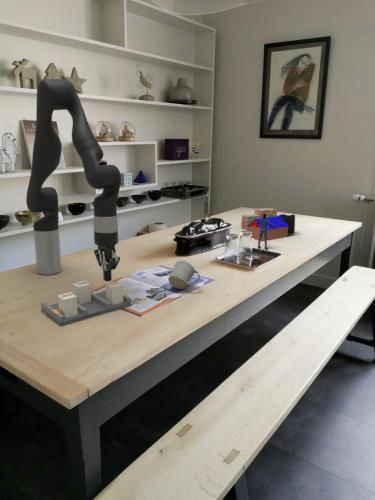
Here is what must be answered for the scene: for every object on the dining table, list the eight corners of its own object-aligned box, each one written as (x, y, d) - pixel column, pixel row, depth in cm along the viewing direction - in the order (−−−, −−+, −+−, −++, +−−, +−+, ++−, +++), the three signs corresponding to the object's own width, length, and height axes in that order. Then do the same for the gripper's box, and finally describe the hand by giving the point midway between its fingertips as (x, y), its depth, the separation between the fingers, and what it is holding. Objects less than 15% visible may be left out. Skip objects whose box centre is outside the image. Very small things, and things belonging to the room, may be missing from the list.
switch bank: (41, 310, 130) (40, 301, 129) (108, 293, 145) (108, 285, 144) (60, 326, 120) (60, 316, 119) (131, 305, 135) (130, 297, 134)
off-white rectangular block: (73, 301, 135) (72, 281, 133) (85, 298, 137) (84, 278, 135) (79, 305, 132) (78, 284, 130) (91, 301, 134) (90, 282, 132)
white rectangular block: (106, 301, 135) (105, 281, 133) (116, 298, 137) (116, 279, 135) (112, 305, 132) (111, 285, 130) (123, 302, 134) (122, 282, 133)
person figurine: (275, 250, 203) (278, 214, 199) (271, 252, 200) (273, 215, 195) (255, 246, 210) (257, 211, 205) (251, 248, 206) (253, 212, 201)
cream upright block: (59, 314, 125) (57, 293, 123) (71, 310, 127) (70, 290, 125) (65, 318, 122) (63, 297, 120) (77, 315, 124) (76, 293, 122)
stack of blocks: (246, 232, 241) (247, 211, 238) (240, 230, 247) (241, 209, 243) (276, 229, 251) (277, 209, 248) (269, 227, 256) (271, 207, 253)
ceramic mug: (175, 291, 152) (162, 277, 149) (184, 275, 157) (172, 261, 154) (196, 288, 145) (183, 273, 141) (205, 271, 150) (193, 256, 146)
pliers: (210, 231, 244) (212, 197, 239) (211, 231, 243) (213, 197, 239) (201, 233, 236) (203, 198, 232) (202, 233, 236) (204, 198, 231)
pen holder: (288, 229, 240) (288, 212, 237) (298, 233, 232) (298, 216, 229) (274, 232, 237) (274, 215, 234) (284, 236, 229) (284, 219, 226)
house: (246, 238, 227) (247, 217, 224) (272, 233, 238) (273, 213, 235) (261, 242, 218) (263, 220, 215) (288, 238, 229) (289, 217, 226)
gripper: (85, 226, 134) (87, 277, 139) (106, 234, 124) (107, 289, 129) (105, 223, 139) (107, 273, 144) (127, 231, 129) (128, 283, 134)
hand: (107, 280), depth 136 cm, fingers closed
